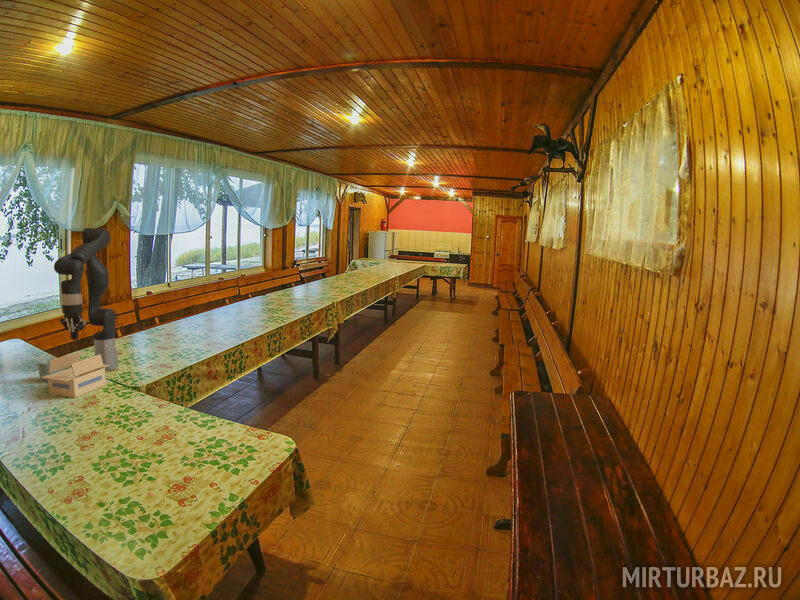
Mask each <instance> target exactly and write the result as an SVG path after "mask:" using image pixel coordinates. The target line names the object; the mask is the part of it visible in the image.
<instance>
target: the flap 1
mask: <svg viewBox="0 0 800 600" xmlns="http://www.w3.org/2000/svg"><path fill="white" fill-rule="evenodd" d="M81 354H82V352H81V351H78V352H74V353H71V354H67V355H63V356H60V357H58V358H53V359H54V360H50V363H49V373H51V372H54V371H57V370H60V371H61V370H62V369H63V370H64V369H65V368H66V369H67V368H68V367H69V368H70V367H72V366H71V364H72V363H75V362H78V361H81V356H82V355H81Z"/></svg>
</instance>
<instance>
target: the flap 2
mask: <svg viewBox="0 0 800 600" xmlns="http://www.w3.org/2000/svg"><path fill="white" fill-rule="evenodd" d="M103 366H104V365H103V361H102V357H101V354H100V355H97V356H95V355H93V356H91V357H88V358H84V359H82V360H81V359H80V361H78V362H75V363H72V364H71V366H70V367H71V368H72V370H73V374H74V376H77V375H80V374H83V373H86V372H89V371H92V370H94V369H97V368H100V367H103Z"/></svg>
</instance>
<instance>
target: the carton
mask: <svg viewBox="0 0 800 600" xmlns="http://www.w3.org/2000/svg"><path fill="white" fill-rule="evenodd" d="M103 365H104V366H103V367H102V368H101V367H100V368H97V369H94V370H92V371H89V372H86V373H83V374H80V375H77V376H74V374H73V370H72V367H69V368H66V369H63V370H60V372H57V373H54V374H51V375H46V376H43V377H41V378H45V379H48V382H47V384H48V386H47V387H48V394H49V395H52V396H53V395H54V396H58V397H64V398H65V397H66V398H71V397H72V399H73V398H74V399H77V398H78V396H79V397H81V396H84V395H86V394H89V393H91V392H93V391H92V390H94V391H96V390H98V389H97V388H99V387H101V386H104V385H106V386H107V382H106V380H107V379H106V371H105V367H108V366H110V365H105V364H103ZM41 378H40V379H41ZM104 387H105V386H104ZM101 388H102V387H101ZM95 389H96V390H95ZM99 389H100V388H99ZM90 391H91V392H90ZM88 392H89V393H88ZM85 393H86V394H85ZM83 394H84V395H83ZM80 395H81V396H80ZM76 397H77V398H76Z"/></svg>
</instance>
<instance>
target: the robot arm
mask: <svg viewBox="0 0 800 600" xmlns="http://www.w3.org/2000/svg"><path fill="white" fill-rule="evenodd" d="M81 233H82V234H81V237H82V238H81V239H82V244H80V245H79V246H76V247H75V248H74V249H73V250H72V251H71V252H70V253H68V254H66V255H64V256H61V257H59V258H58V259H57V260H56V261H55V262H54V265H53V269H54V272H55V273H57V274H58V275H61V276H62V275H64V276H72V277H71V278H70V279H65V280H62V281H61V282H60V291H61V296H60V298H61V299H60V300H61V301H60V302H61V313H62V314H63V318H60V319H59V322H60V323H61V324H62V326H63V327H64V329H65V330H66V331H68V332H69V333H70V340H71V341H77V340H79V336H80V334H79V332H80V331H83V329H84V328H85V327H86V325H87V323H88V321H89V324H90V325H91V326H96V327H97V326H98V327H102V330H100V331H97V332H94V333H93V345H94V356H97V355H100V354H101V357H102V361H103V364H105V365H110V366H108V367H105V372H109V371H113V370H115V369H117V368H118V367H119V358H118V357H119V356H118V349H116V330H117V329H116V327H117V326H116V324H117V322H116V321H117V320H116V318H117V317H116V313H115V311H114V309H113V308H112V309H111V308H101V299H102V297H103V295H104V293H105V292H106V291H107V289H108V287H109V285H110V277H109V270H108V269H107V267H106V266H105V265H104V264H103V262H102V261H101V260H100V258H99V257H98V255H97V253H98V252H100V251H101V250H103V249H105V248H106V247H108V245H109V244H110V243H111V240H112V238H111V233H110V231H109V230H108V229H105V228H99V227H98V228H95V227H86V228H84V229H82V232H81ZM85 266H86V270H85ZM84 271H86V282H87V294H88V303H87V304H88V309H87V316H88V317H87V319H88V321H87V320H85V319H83V315H82V313H84V307H83V306H84V305H83V295H82V288H81V287H82V286H81V285H82V284H81V283H82V279H83V275H84ZM101 368H102V367H101Z"/></svg>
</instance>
